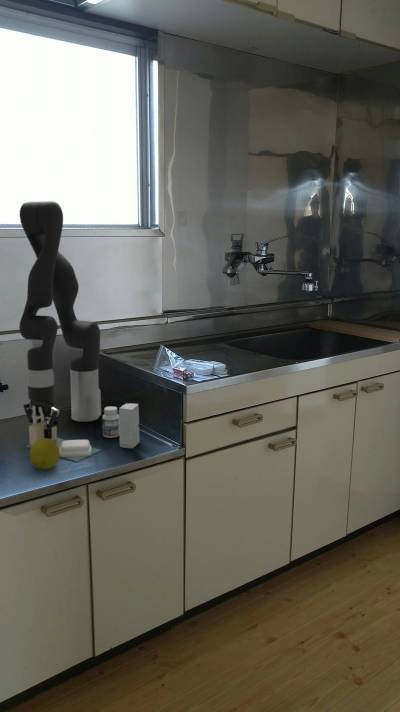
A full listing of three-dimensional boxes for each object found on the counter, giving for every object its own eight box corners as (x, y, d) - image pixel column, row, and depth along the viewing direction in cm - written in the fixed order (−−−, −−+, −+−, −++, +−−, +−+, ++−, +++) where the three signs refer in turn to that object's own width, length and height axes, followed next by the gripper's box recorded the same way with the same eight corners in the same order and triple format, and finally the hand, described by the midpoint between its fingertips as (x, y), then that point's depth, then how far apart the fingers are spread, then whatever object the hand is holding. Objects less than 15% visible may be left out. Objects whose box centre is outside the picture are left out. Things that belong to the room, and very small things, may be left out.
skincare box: (133, 448, 176) (132, 409, 174) (118, 447, 177) (118, 408, 175) (140, 441, 182) (139, 403, 179) (126, 440, 183) (125, 402, 180)
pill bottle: (105, 431, 190) (105, 405, 188) (121, 432, 189) (121, 406, 187) (100, 437, 185) (99, 410, 183) (116, 438, 184) (116, 411, 182)
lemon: (57, 475, 157) (56, 446, 155) (26, 475, 157) (25, 447, 155) (62, 459, 168) (61, 432, 166) (34, 459, 167) (33, 432, 165)
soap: (91, 446, 176) (91, 437, 176) (91, 455, 170) (91, 446, 169) (60, 448, 175) (59, 438, 174) (58, 457, 168) (58, 447, 167)
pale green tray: (51, 437, 184) (50, 417, 183) (100, 451, 174) (100, 430, 173) (26, 447, 176) (25, 426, 175) (76, 462, 166) (76, 440, 164)
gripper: (67, 383, 175) (69, 439, 178) (33, 376, 182) (36, 430, 185) (49, 389, 168) (51, 447, 172) (14, 382, 175) (17, 437, 179)
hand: (43, 438), depth 179 cm, fingers closed on pale green tray, 3 cm apart
